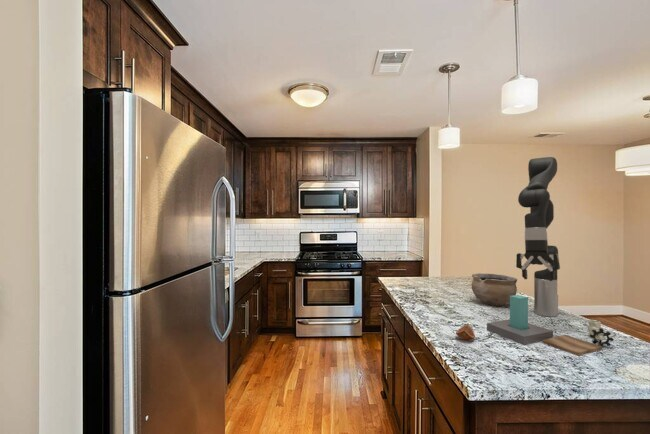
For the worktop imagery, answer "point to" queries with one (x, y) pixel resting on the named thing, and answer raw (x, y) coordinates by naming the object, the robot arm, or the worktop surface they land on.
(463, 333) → the fruit slice
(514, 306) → the plug
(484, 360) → the worktop surface
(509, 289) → the ceramic bowl
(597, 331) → the valve
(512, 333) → the grey square socket plate
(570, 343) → the board
